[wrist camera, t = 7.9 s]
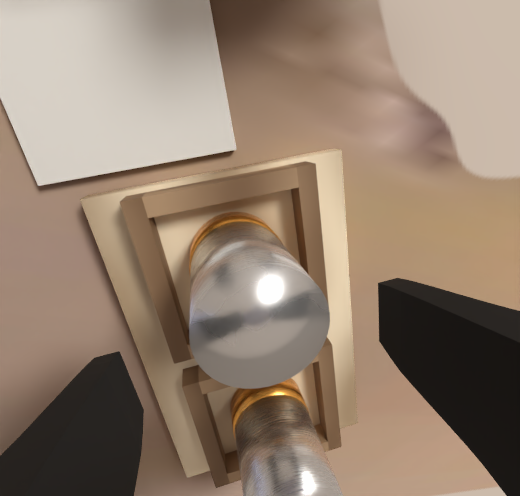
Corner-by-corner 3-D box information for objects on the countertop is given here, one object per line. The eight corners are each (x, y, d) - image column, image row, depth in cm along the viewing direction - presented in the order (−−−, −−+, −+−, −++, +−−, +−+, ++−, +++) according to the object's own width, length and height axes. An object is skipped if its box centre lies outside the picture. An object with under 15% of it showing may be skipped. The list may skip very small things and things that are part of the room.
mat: (42, 184, 12) (38, 186, 12) (-41, -13, 10) (-50, -18, 10) (235, 149, 13) (236, 149, 13) (201, -37, 11) (201, -42, 11)
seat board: (187, 461, 19) (186, 499, 17) (87, 195, 13) (68, 206, 11) (350, 410, 21) (367, 440, 19) (332, 148, 14) (354, 150, 12)
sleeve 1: (204, 305, 15) (210, 407, 9) (177, 225, 13) (166, 289, 8) (285, 281, 15) (339, 364, 10) (268, 201, 14) (321, 245, 8)
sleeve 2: (237, 437, 18) (257, 571, 12) (223, 385, 16) (238, 510, 11) (303, 417, 18) (351, 536, 13) (295, 364, 17) (345, 474, 11)
